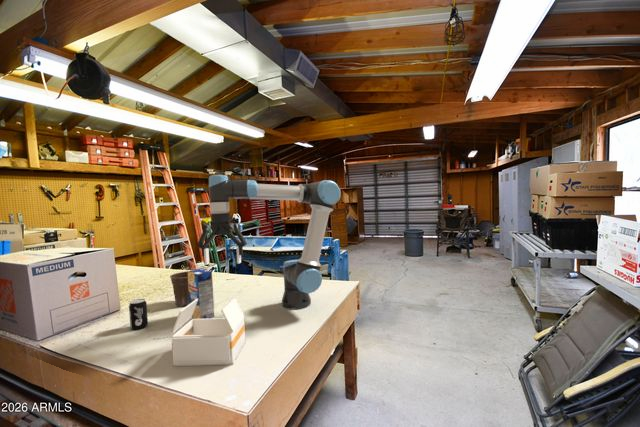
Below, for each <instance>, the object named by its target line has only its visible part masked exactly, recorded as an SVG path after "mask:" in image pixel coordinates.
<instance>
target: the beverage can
mask: <svg viewBox="0 0 640 427" xmlns="http://www.w3.org/2000/svg"><path fill="white" fill-rule="evenodd" d="M147 305H148V304H147V301H146V299H145V298H136V299H134V300H131V301H129V305H128V312H129V314H128V315H129V326H130V329H131V330H132V331H138V330H142V329H145V328H146V327H147V326H148V324H149V322H148V320H149V319H148V306H147Z"/></svg>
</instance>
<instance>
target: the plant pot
mask: <svg viewBox="0 0 640 427" xmlns="http://www.w3.org/2000/svg"><path fill="white" fill-rule="evenodd" d="M187 271H188V270H187ZM187 271H186V270H185V271H181V272H176V273H173V274H171V275H170V276H169V278H170V279H171V280H170V281H171V284H172V288H173V295H174V303H175V306H177V307H186V306H188V305H189V288H188V272H187Z"/></svg>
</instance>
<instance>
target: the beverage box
mask: <svg viewBox="0 0 640 427" xmlns="http://www.w3.org/2000/svg"><path fill="white" fill-rule="evenodd" d="M187 272H188V288H189V304H190V303H192V302H193V301H194V300H196V299H198V301H197V304H196V307H195V309H194V312H193V315H192V317H191V318H192V319H207V318H215V302H214V285H213V284H214V283H213V271H212V270H210V269H205V268H197V269H193V270H187Z"/></svg>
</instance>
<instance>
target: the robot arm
mask: <svg viewBox="0 0 640 427" xmlns="http://www.w3.org/2000/svg"><path fill="white" fill-rule="evenodd" d="M257 182H258V181H256V180H253V179H252V180H251V179H237V180H236V179H233V180H232V179H229V177H228V175H226V174H212V175H210V176H209V177H208V192H209V193H208V194H209V204H210V205H209V211H210V213H211V214H210V225H209V224H204V225H203V228H202V229H203V231H202V233H201V235H200V237H199V240H198V242H197V244H196V247H197V248H199V249H201V256H202V257H204V266H207V265H209V264H210V252H209V251H210V250H209V247H208V246H209V244H211V242H212V241H213V239H214V238H215V237H216V236H227V237H229V239H230V240H231V241H232V242H234V244H235V245H236V246H237V247H236V264H241V263H242V255H244V254H243V253H244V249H243V248H244V247H245V246H247V244H248V242H247V241H246V239H245V237H244V236H243V234H242V232H241V230H240V227H239V224H238V223H233V224H231V214H230V199H234V200H239V199H241V200H243V199H245V200H273V201H274V200H275V201H297V202H298V203H305V204H309V206H310V208H311V214H310V217H309V222H308V226H307V231H306V236H305V240H304V244H303V248H302V251H301V252H302V253H301V257H300V258H299V259H298V258H297V259H291V260H286V261H284V262H283V267H282V269H283V281H284V282H283V284H284V292H283V294H282V299H281V306H282V307H283V308H284V309H288V310H299V309H304V308H307V307H309V306H310V305H311V303H312V299H311V296H310V294H312V293H315V292H316V291H317V290H319V288H320V287H321V285H322V283H323V277H322V276H323V275H322V274H321V267H322V264H321V263H320V258H321V253H322V247H323V244H324V239H325V234H326V229H327V225H328V221H329V215H330V213H332V212H333V211H334V208H335V204H337V203H338V202H339V201H340V199H341V189H340V187H339V186H338V184H337V183H336V182H335V181H333V180H329V179H328V180H327V179H325V180H322V181H316V182H315V181H314V182H310V183H300V184H298V185H290V184H268V183H267V184H266V183H257ZM231 229H232V230H233V231H234V232H235V234H236V235H235V234H234V233H233V231H231ZM210 230H211V231H212V232H210V234H209V236H208V233H209V231H210ZM207 236H208V238H207ZM236 236H237V237H236ZM206 238H207V239H206Z"/></svg>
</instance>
